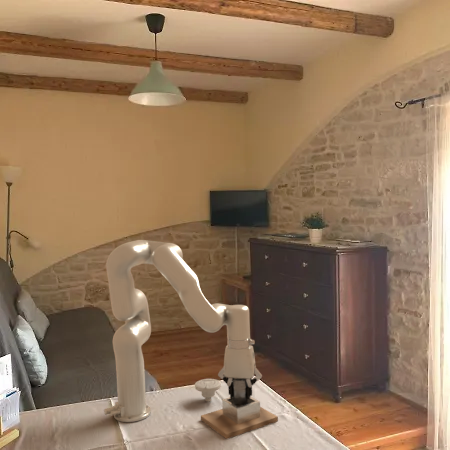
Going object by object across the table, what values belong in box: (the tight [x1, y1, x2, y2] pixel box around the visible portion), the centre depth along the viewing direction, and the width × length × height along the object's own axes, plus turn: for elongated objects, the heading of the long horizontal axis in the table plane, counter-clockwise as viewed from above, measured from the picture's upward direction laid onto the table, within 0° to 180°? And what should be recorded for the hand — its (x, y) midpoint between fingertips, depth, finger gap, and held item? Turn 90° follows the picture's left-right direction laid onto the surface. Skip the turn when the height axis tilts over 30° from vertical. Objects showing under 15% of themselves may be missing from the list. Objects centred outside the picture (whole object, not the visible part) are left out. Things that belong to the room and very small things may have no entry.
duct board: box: [200, 396, 279, 440], centre depth 160 cm, size 20×16×6 cm
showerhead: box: [194, 377, 222, 402], centre depth 177 cm, size 9×7×10 cm
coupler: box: [232, 378, 248, 405], centre depth 160 cm, size 5×5×8 cm
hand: (240, 396), depth 161 cm, fingers closed on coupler, 5 cm apart
